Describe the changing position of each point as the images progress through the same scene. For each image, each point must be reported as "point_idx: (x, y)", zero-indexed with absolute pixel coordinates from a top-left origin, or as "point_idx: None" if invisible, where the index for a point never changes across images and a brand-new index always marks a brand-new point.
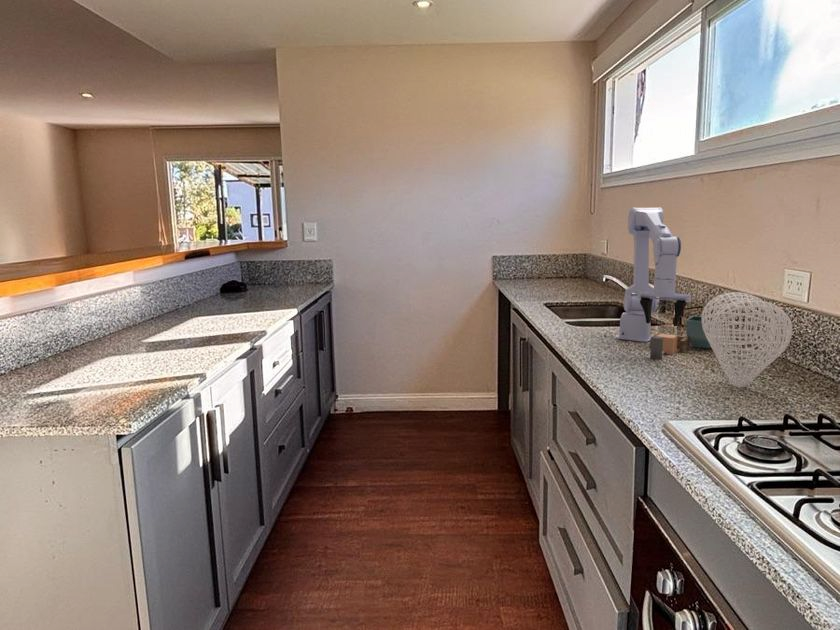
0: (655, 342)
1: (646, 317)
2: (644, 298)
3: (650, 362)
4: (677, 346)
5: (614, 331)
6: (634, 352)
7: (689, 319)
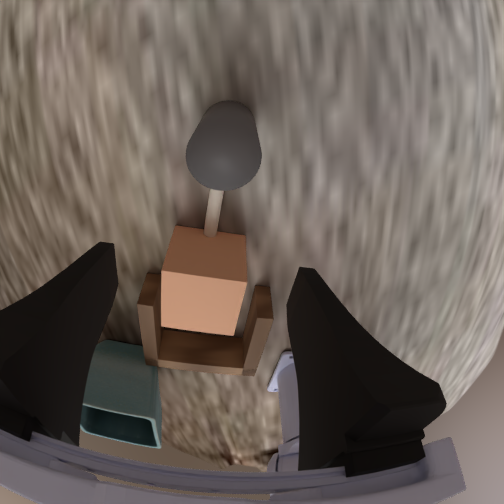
0: (229, 114)
1: (327, 293)
2: (395, 455)
3: (243, 24)
4: (184, 333)
5: None
6: (326, 197)
7: (153, 428)
